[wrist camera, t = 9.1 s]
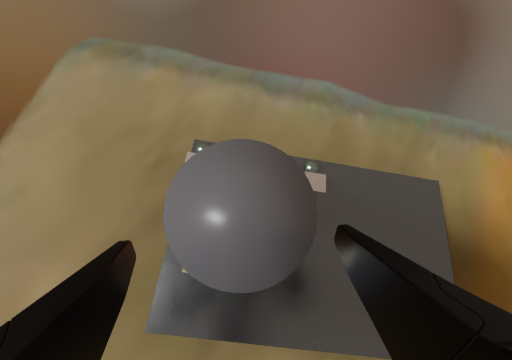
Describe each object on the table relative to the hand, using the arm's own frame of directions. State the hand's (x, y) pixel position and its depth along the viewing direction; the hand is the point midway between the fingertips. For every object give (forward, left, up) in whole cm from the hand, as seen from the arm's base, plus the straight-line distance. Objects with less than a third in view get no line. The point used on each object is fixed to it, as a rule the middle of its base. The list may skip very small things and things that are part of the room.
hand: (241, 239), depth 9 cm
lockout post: (0, +1, -8) cm, 8 cm away
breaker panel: (+5, -5, -9) cm, 12 cm away
